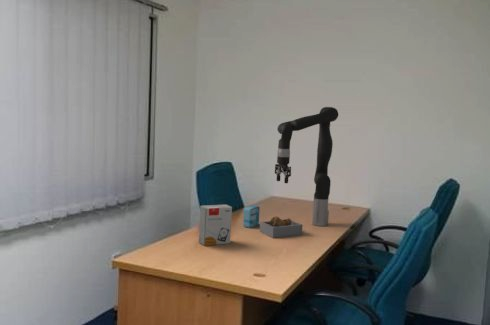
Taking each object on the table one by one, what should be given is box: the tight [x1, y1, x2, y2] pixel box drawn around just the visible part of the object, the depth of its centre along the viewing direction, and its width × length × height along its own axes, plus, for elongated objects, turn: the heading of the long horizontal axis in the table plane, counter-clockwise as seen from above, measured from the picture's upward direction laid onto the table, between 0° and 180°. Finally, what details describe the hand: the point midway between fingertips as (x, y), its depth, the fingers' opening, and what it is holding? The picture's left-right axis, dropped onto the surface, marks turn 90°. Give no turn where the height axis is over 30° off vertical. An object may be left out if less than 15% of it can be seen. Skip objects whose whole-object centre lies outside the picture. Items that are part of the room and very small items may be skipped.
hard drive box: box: [198, 204, 233, 246], centre depth 246 cm, size 16×8×20 cm, turn 117°
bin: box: [259, 219, 303, 239], centre depth 272 cm, size 20×14×6 cm
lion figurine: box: [268, 215, 292, 227], centre depth 272 cm, size 15×5×9 cm, turn 117°
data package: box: [242, 205, 261, 229], centre depth 286 cm, size 12×4×12 cm, turn 149°
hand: (282, 182), depth 284 cm, fingers open, 8 cm apart
